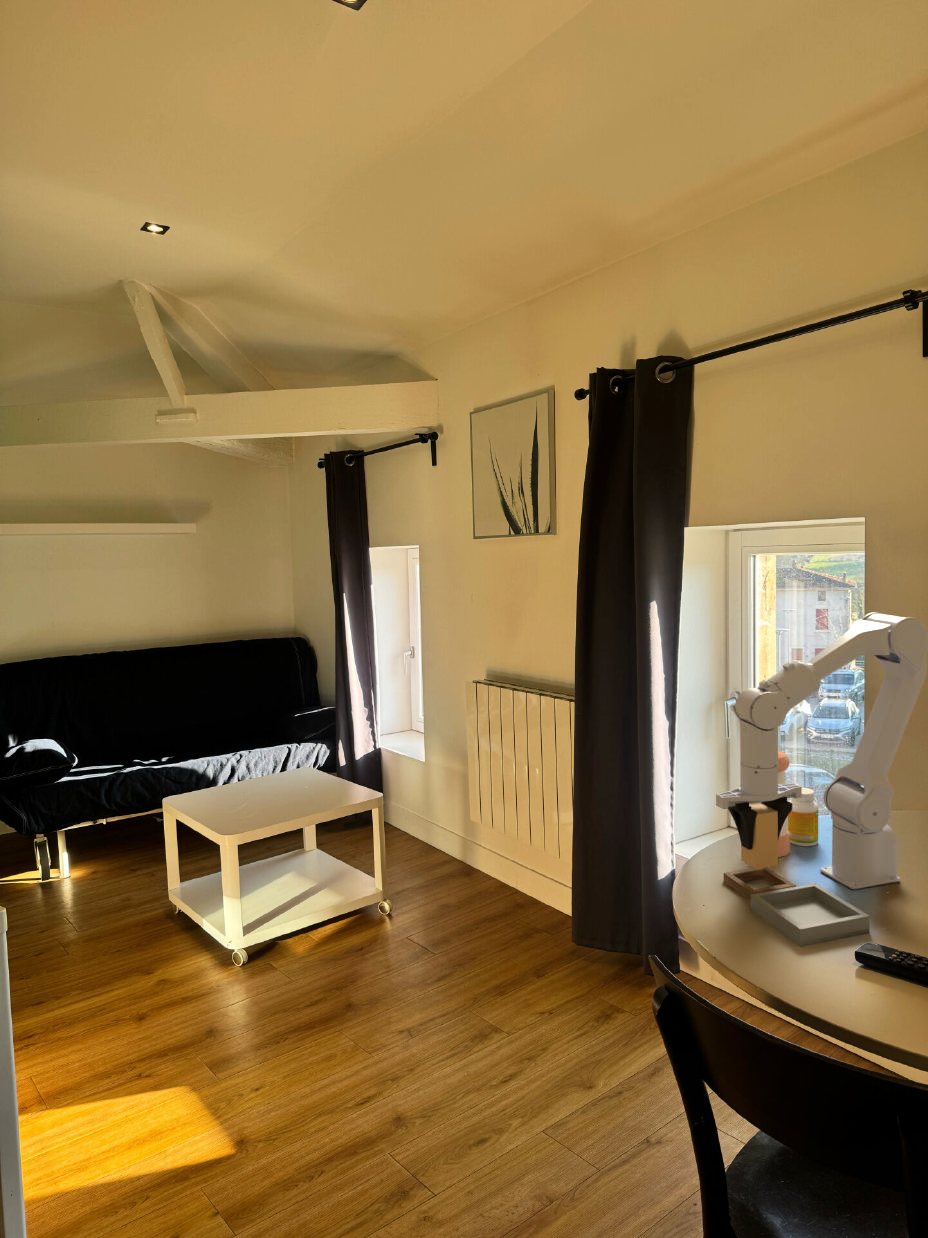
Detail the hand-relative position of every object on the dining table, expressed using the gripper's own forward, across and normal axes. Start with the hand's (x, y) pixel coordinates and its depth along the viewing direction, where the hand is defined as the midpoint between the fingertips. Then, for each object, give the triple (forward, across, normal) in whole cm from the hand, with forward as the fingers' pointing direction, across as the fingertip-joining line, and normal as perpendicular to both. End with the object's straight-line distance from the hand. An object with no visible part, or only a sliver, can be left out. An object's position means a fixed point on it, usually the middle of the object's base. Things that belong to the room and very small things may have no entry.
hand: (759, 845), depth 133 cm
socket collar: (+7, 0, 0) cm, 7 cm away
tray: (+7, 0, +12) cm, 14 cm away
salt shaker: (+7, -11, -13) cm, 19 cm away
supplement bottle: (+8, -19, -14) cm, 25 cm away
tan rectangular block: (+3, 0, 0) cm, 3 cm away
